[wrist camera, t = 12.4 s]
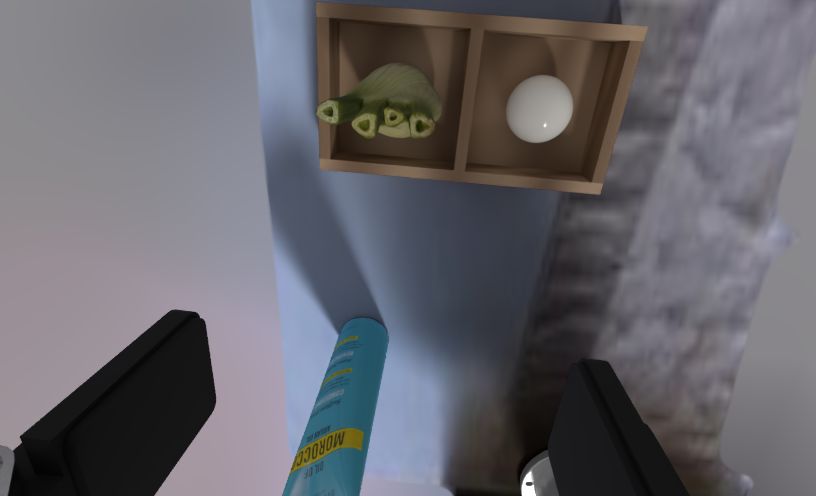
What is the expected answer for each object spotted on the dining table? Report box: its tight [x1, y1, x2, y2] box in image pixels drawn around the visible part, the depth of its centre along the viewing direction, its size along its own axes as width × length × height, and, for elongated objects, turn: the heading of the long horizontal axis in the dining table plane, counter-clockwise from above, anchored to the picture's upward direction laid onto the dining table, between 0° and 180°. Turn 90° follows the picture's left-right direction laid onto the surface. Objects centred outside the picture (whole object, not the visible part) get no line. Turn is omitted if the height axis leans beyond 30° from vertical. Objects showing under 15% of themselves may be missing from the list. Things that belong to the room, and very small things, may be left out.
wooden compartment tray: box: [316, 2, 648, 195], centre depth 28 cm, size 20×11×4 cm, turn 86°
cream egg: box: [506, 75, 573, 143], centre depth 27 cm, size 4×4×4 cm
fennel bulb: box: [316, 62, 442, 139], centre depth 24 cm, size 6×5×12 cm
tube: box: [282, 318, 389, 496], centre depth 31 cm, size 7×5×19 cm, turn 134°
